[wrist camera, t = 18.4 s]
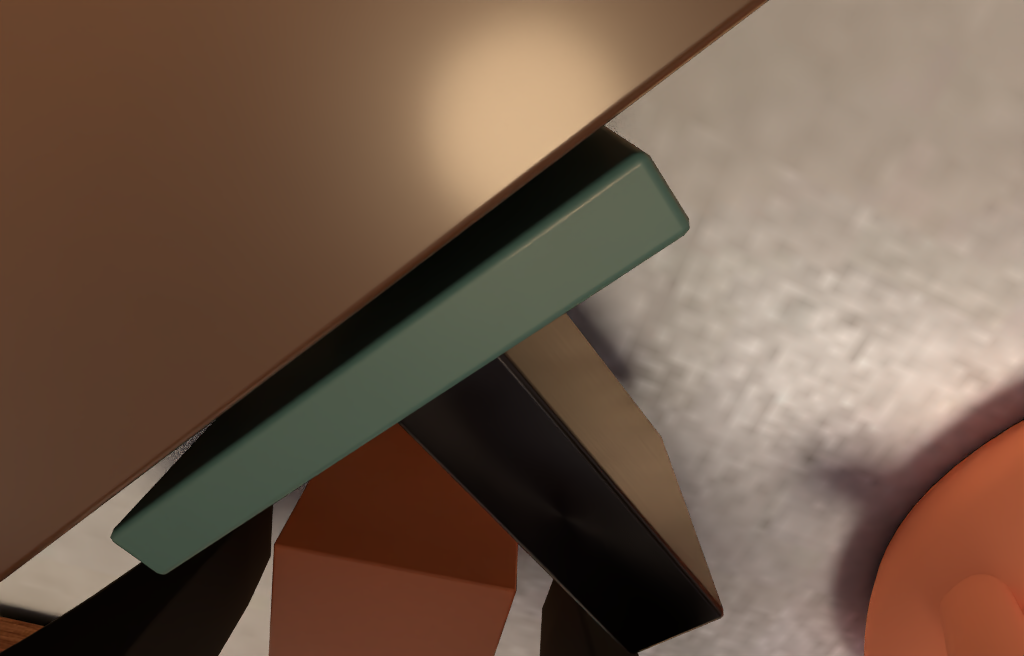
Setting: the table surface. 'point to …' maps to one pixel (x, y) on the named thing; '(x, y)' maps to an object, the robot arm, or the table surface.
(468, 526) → the block
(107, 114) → the cupboard
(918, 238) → the table surface
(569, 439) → the door
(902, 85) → the table surface
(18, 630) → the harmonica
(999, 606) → the teapot
